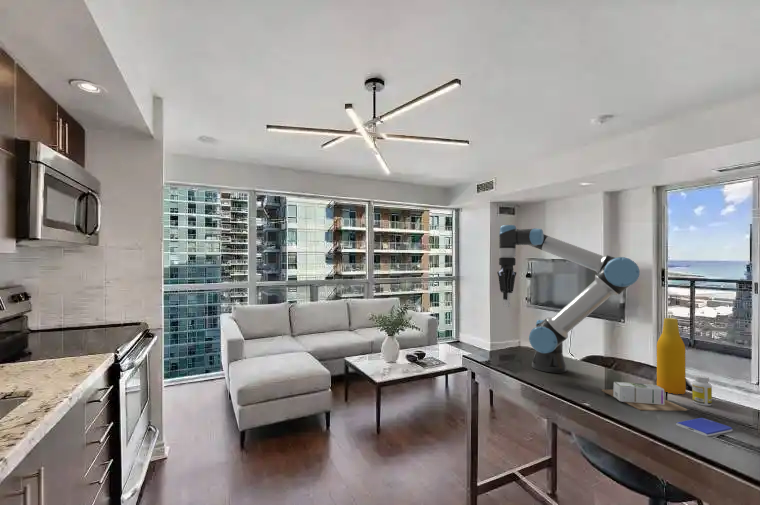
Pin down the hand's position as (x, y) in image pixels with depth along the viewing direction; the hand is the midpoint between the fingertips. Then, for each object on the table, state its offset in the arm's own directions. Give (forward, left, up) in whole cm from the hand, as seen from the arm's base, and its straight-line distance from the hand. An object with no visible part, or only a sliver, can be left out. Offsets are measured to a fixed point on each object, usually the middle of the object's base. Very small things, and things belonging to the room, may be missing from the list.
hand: (506, 306), depth 177 cm
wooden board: (-5, +54, -29) cm, 61 cm away
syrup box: (+4, +48, -26) cm, 55 cm away
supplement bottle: (-20, +68, -30) cm, 77 cm away
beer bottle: (-28, +57, -30) cm, 70 cm away
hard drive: (+8, +73, -30) cm, 80 cm away
